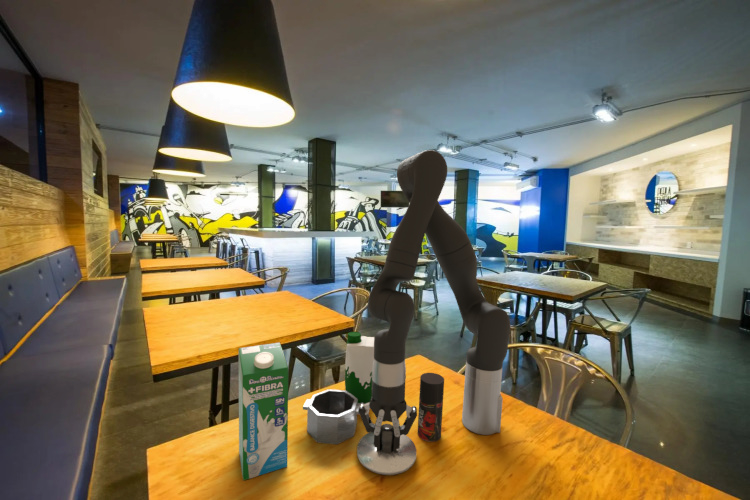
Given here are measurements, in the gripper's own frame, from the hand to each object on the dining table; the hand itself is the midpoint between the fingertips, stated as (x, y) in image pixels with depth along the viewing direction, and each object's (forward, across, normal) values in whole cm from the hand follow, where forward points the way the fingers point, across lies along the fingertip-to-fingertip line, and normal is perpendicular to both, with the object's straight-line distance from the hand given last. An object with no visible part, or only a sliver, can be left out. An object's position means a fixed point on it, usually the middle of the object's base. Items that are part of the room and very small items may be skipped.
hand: (386, 447), depth 75 cm
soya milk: (+2, +9, -23) cm, 25 cm away
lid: (+1, 0, 0) cm, 1 cm away
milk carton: (+2, +28, +4) cm, 28 cm away
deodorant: (+2, -11, -9) cm, 14 cm away
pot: (+2, +14, -8) cm, 17 cm away
